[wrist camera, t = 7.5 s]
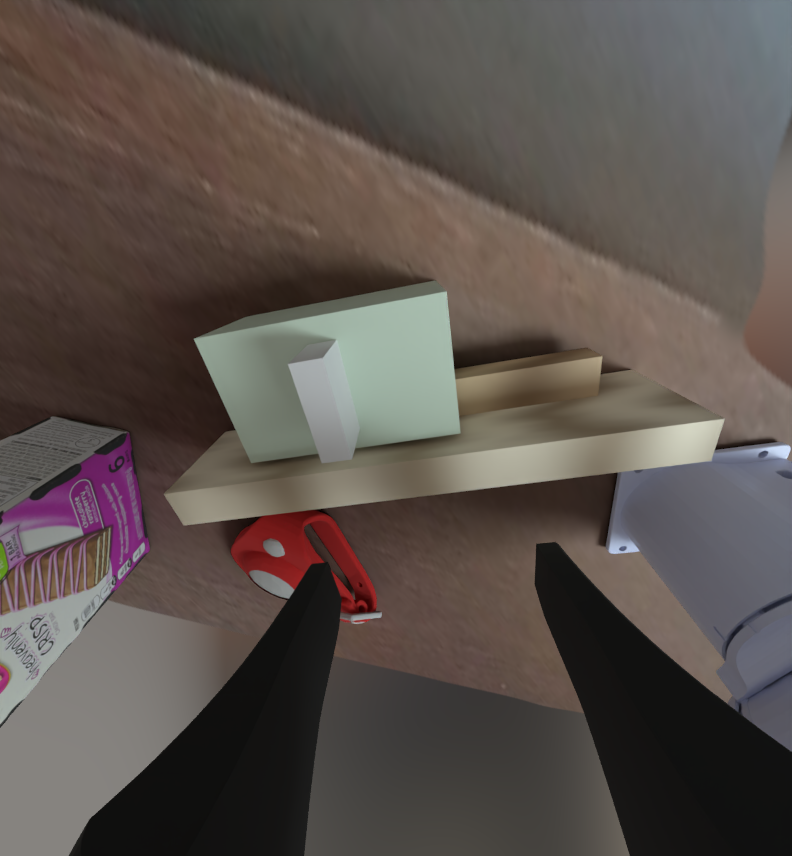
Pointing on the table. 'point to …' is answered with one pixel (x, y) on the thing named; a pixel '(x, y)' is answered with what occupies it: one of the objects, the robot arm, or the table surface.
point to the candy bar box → (61, 541)
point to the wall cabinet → (338, 374)
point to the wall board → (472, 443)
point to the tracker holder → (302, 559)
